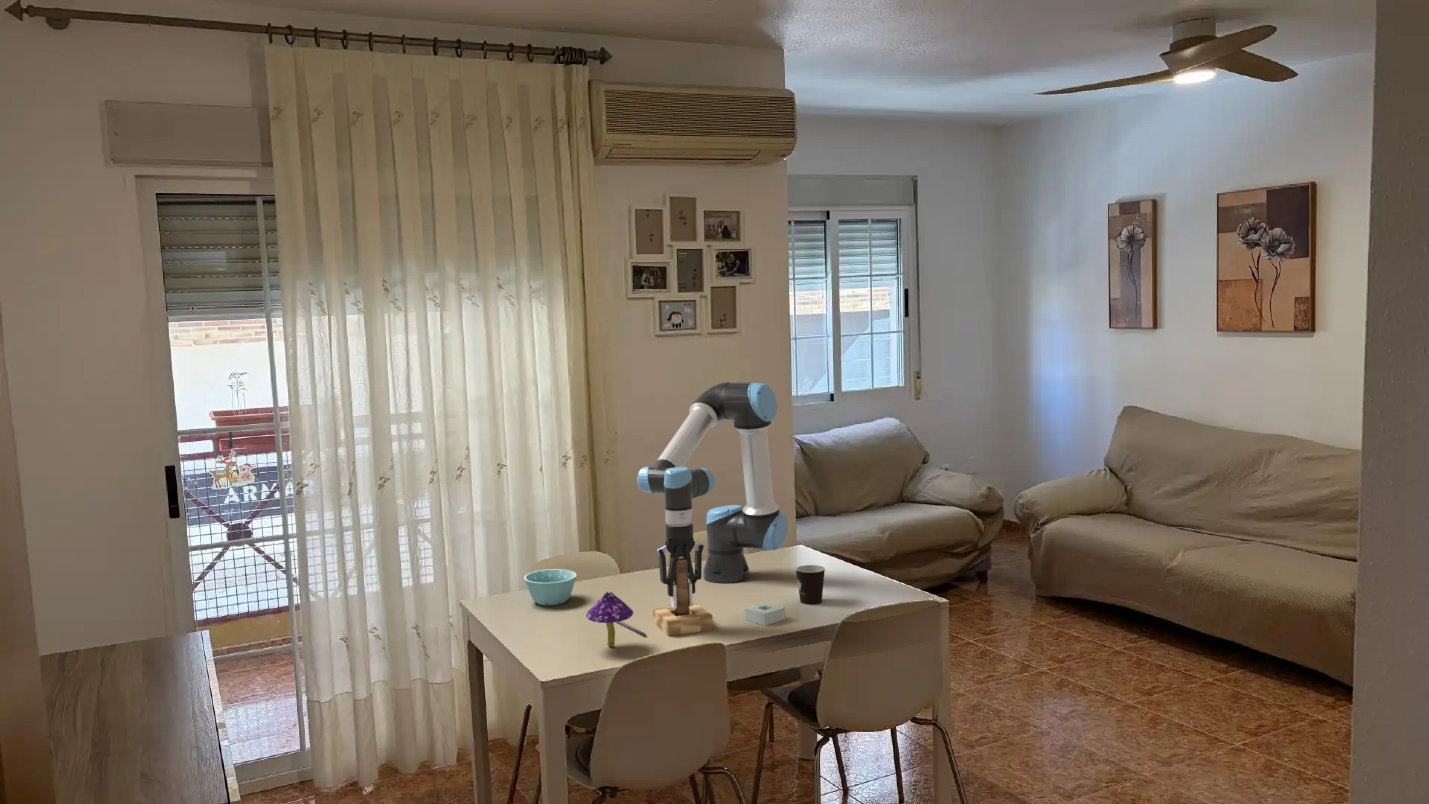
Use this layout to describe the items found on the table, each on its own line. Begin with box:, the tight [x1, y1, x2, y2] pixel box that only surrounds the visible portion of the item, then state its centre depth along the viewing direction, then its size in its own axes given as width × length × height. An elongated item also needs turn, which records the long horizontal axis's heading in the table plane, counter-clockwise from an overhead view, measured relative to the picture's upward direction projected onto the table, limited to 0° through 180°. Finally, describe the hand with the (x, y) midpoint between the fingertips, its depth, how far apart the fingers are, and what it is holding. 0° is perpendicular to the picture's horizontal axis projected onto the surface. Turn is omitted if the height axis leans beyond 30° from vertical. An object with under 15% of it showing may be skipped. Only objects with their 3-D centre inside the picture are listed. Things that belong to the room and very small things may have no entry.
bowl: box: [523, 568, 578, 607], centre depth 326 cm, size 16×16×8 cm
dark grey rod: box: [616, 621, 647, 637], centre depth 297 cm, size 17×1×1 cm, turn 33°
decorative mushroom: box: [585, 591, 634, 648], centre depth 282 cm, size 12×12×15 cm
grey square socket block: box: [744, 601, 786, 627], centre depth 302 cm, size 8×8×3 cm
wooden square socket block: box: [652, 602, 714, 637], centre depth 298 cm, size 13×13×4 cm
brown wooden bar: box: [674, 557, 689, 616], centre depth 297 cm, size 4×4×16 cm
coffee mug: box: [795, 564, 826, 606], centre depth 319 cm, size 12×9×10 cm
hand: (681, 606), depth 298 cm, fingers closed on brown wooden bar, 4 cm apart
